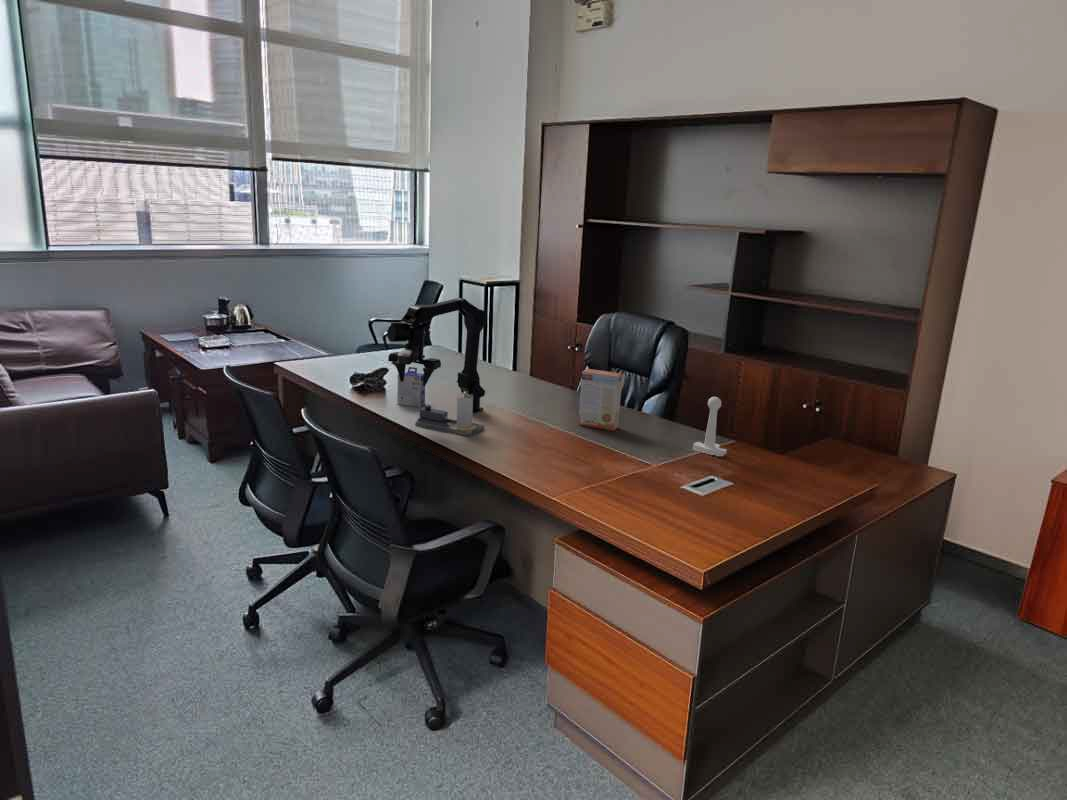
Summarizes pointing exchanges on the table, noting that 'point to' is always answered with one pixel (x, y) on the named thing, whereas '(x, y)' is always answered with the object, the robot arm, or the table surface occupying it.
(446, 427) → the press bed
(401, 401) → the ink cartridge box
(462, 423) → the housing
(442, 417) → the ram
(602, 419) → the cracker box
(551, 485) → the table surface
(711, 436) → the joystick
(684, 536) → the table surface
